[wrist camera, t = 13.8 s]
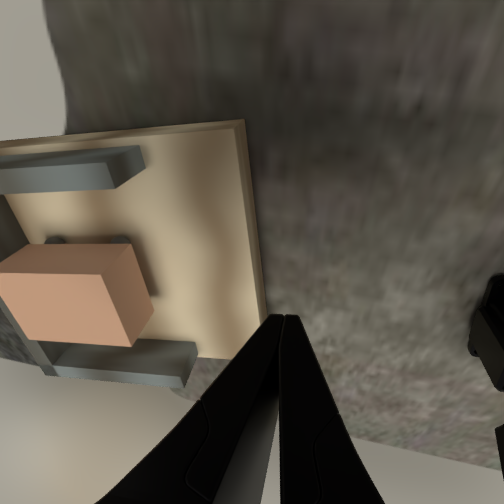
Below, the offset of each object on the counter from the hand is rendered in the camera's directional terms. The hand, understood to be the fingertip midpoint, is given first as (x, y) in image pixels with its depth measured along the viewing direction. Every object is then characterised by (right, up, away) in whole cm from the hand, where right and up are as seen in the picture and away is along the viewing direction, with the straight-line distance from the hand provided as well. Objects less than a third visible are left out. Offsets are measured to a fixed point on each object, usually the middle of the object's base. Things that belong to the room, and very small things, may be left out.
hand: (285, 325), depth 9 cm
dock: (-8, +2, +14) cm, 16 cm away
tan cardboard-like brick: (-11, +1, +12) cm, 16 cm away
